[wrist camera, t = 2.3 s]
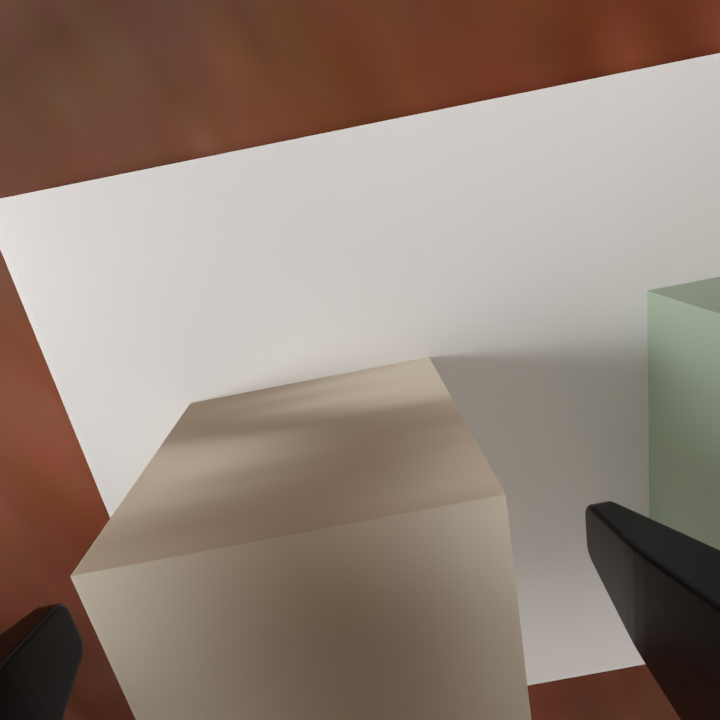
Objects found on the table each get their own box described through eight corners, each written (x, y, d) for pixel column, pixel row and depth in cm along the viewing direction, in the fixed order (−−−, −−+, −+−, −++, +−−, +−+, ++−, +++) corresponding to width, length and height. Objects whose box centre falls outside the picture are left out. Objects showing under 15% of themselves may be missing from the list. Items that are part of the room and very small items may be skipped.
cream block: (251, 593, 12) (196, 853, 7) (190, 403, 11) (70, 577, 6) (459, 555, 12) (539, 792, 7) (428, 357, 10) (505, 494, 6)
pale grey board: (211, 708, 15) (202, 744, 14) (14, 201, 10) (-19, 202, 9) (916, 579, 14) (958, 607, 13) (1031, -5, 10) (1106, -26, 9)
